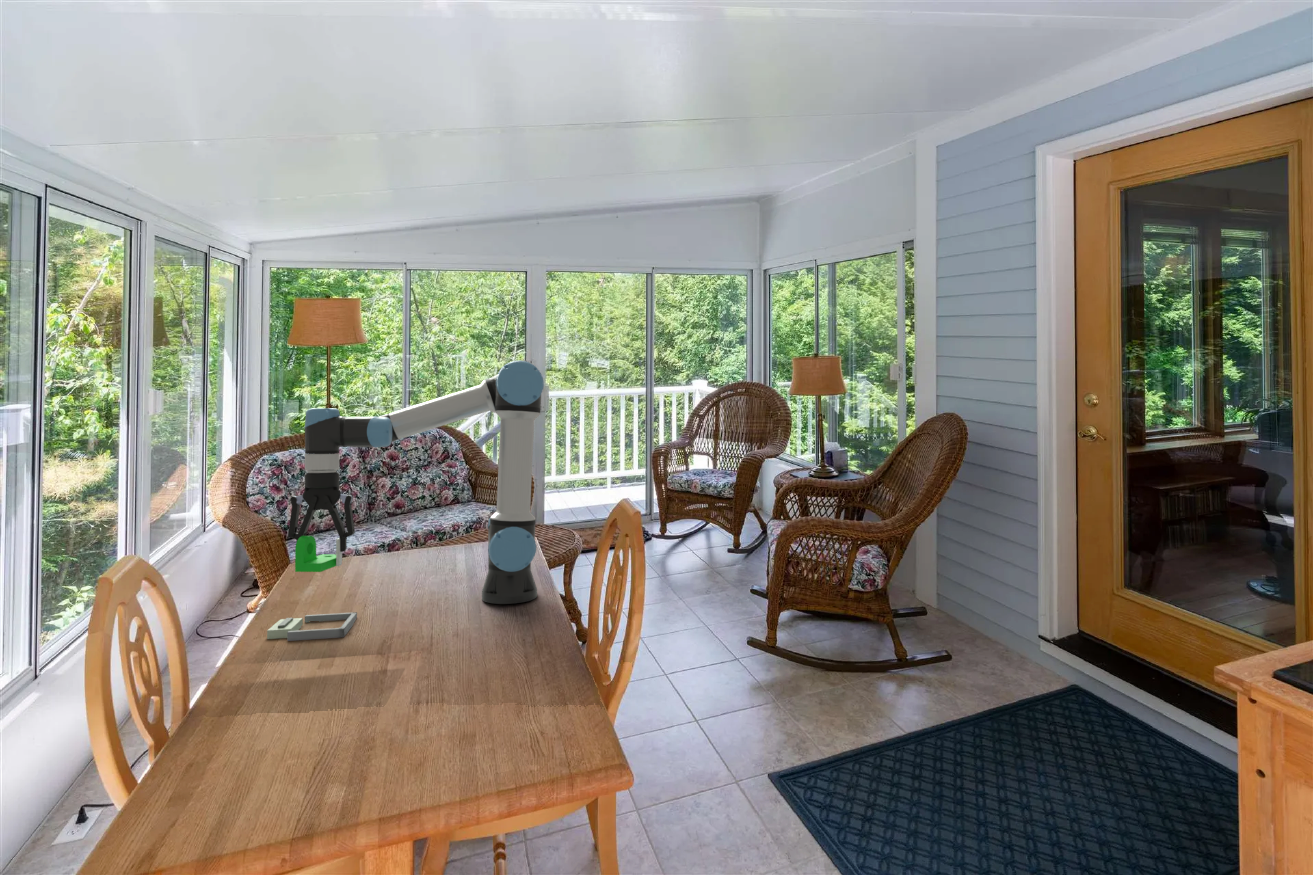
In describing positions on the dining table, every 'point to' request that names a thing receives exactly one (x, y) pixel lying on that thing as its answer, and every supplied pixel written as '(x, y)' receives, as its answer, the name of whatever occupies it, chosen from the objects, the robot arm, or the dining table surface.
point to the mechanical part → (311, 556)
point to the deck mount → (291, 630)
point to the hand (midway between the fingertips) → (322, 565)
